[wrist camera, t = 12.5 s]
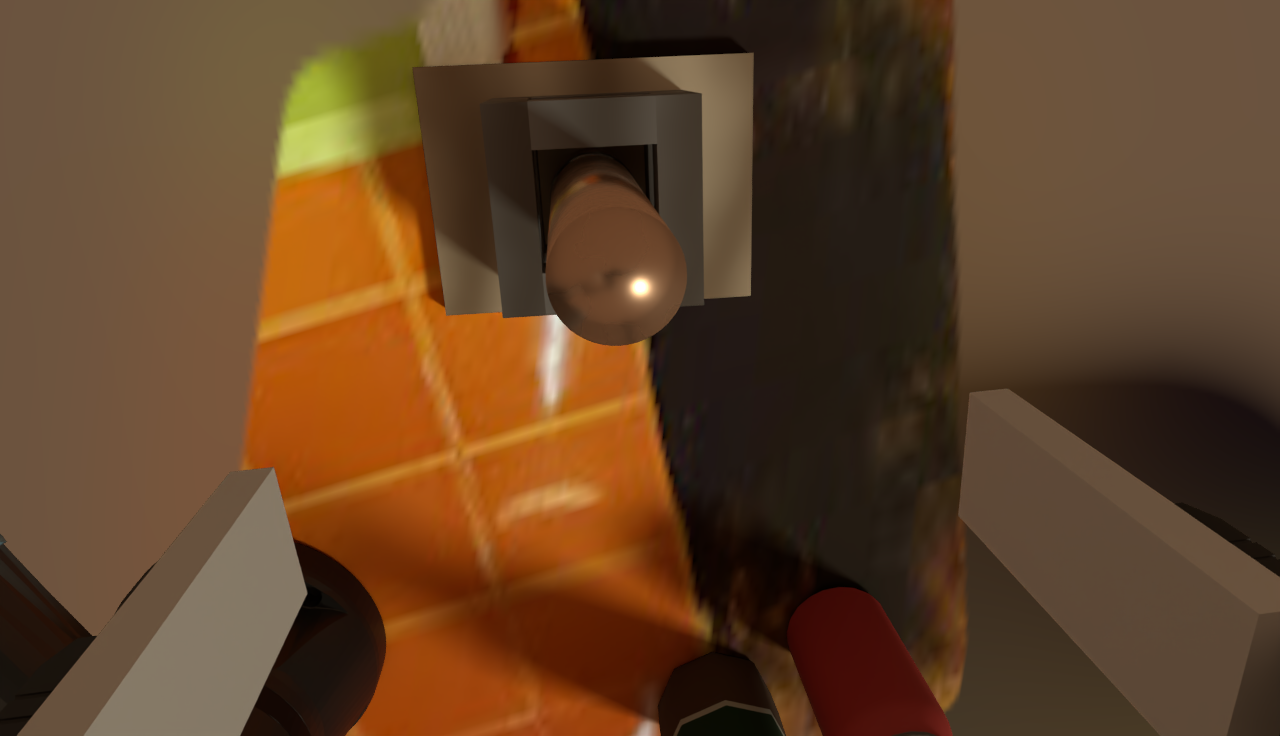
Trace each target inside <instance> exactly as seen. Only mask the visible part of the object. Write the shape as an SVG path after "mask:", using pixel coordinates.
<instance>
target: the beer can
mask: <svg viewBox="0 0 1280 736" xmlns="http://www.w3.org/2000/svg"><path fill="white" fill-rule="evenodd" d="M787 641H788V647H789V649H790V652H791V655H792V657H793V660H794V662H795V665H796V667H797V670H798V673H799V675H800V678H801V680H802V683H803V686H804V688H805V691H806V693H807V696H808V698H809V701H810V704H811V706H812V709H813V711H814V714H815V717H816V719H817V722H818V724H819V727H820V729H821V732H822V735H823V736H952V731H951V728H950V725H949V722H948V720H947V718H946V716H945V714H944V712H943V710H942V708H941V707H940V705H939V703H938V702H937V700H936V698H935V697H934V695H933V693H932V692H931V690H930V688H929V686H928V685H927V683H926V681H925V680H924V678H923V676H922V675H921V673H920V671H919V669H918V668H917V666H916V664H915V663H914V661H913V659H912V658H911V656H910V654H909V652H908V651H907V649H906V647H905V646H904V644H903V642H902V641H901V639H900V637H899V635H898V634H897V632H896V630H895V629H894V627H893V625H892V624H891V622H890V620H889V618H888V617H887V615H886V613H885V612H884V610H883V608H882V607H881V605H880V603H879V602H878V601H877V600H876V599H875V598H873V597H872V596H871V595H870V594H869V593H866V592H864V591H861V590H858V589H856V588H849V587H835V588H830V589H826V590H822V591H820V592H818V593H816V594H814V595H812V596H810V597H809V598H808V599H806V600H805V601H804V602H803V603H802V604H801V605H799V606H798V608H797V609H796V611H795V612H794V614H793V615H792V617H791V618H790V622H789V626H788V630H787Z"/></svg>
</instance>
